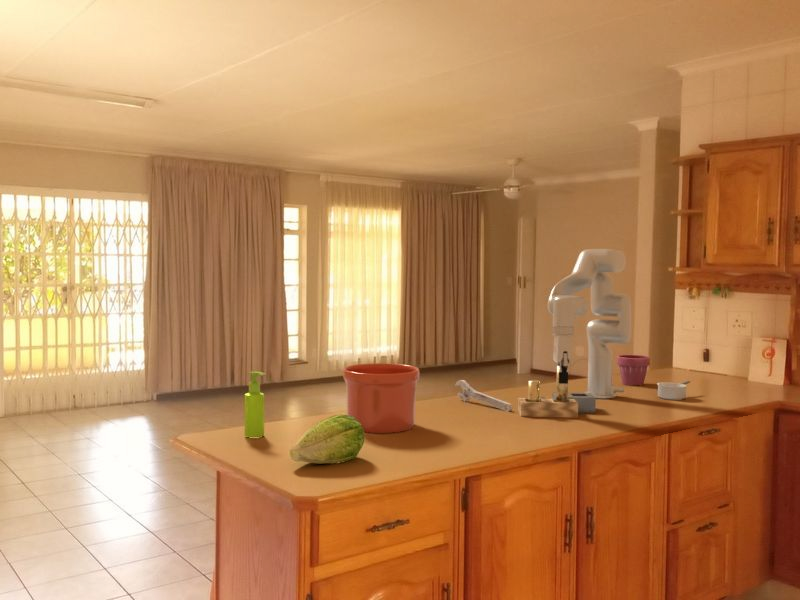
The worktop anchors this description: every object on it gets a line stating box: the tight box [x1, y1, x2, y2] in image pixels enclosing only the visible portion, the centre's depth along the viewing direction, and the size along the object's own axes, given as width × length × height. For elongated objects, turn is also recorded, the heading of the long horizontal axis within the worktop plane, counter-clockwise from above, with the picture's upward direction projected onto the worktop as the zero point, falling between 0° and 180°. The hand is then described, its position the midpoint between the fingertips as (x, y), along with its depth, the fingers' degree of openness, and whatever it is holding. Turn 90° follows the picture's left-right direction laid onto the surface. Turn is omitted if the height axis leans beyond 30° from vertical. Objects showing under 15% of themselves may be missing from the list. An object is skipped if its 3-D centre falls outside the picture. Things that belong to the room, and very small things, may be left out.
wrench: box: [455, 379, 513, 413], centre depth 271 cm, size 8×2×30 cm
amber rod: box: [527, 379, 541, 402], centre depth 255 cm, size 4×4×12 cm
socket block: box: [551, 391, 597, 414], centre depth 264 cm, size 14×10×6 cm
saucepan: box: [656, 380, 691, 401], centre depth 292 cm, size 12×20×6 cm, turn 132°
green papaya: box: [289, 414, 365, 465], centre depth 190 cm, size 13×22×14 cm
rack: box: [517, 397, 579, 418], centre depth 255 cm, size 20×8×5 cm, turn 87°
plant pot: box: [616, 354, 651, 386], centre depth 322 cm, size 14×14×13 cm
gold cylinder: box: [555, 365, 569, 401], centre depth 254 cm, size 4×4×12 cm
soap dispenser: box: [244, 371, 267, 437], centre depth 217 cm, size 6×7×20 cm
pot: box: [342, 362, 420, 434], centre depth 233 cm, size 25×25×19 cm
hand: (562, 381), depth 254 cm, fingers closed on gold cylinder, 4 cm apart
